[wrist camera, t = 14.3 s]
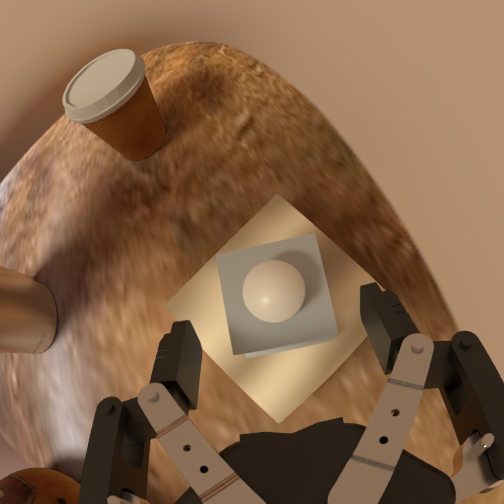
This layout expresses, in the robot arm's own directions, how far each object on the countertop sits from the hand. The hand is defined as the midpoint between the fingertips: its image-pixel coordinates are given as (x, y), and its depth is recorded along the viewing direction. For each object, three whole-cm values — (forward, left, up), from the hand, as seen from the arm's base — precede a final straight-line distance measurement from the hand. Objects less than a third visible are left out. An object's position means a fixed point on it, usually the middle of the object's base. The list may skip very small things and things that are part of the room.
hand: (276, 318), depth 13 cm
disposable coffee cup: (-27, +4, -14) cm, 30 cm away
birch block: (-1, +1, -14) cm, 14 cm away
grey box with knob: (-1, +1, -9) cm, 9 cm away
